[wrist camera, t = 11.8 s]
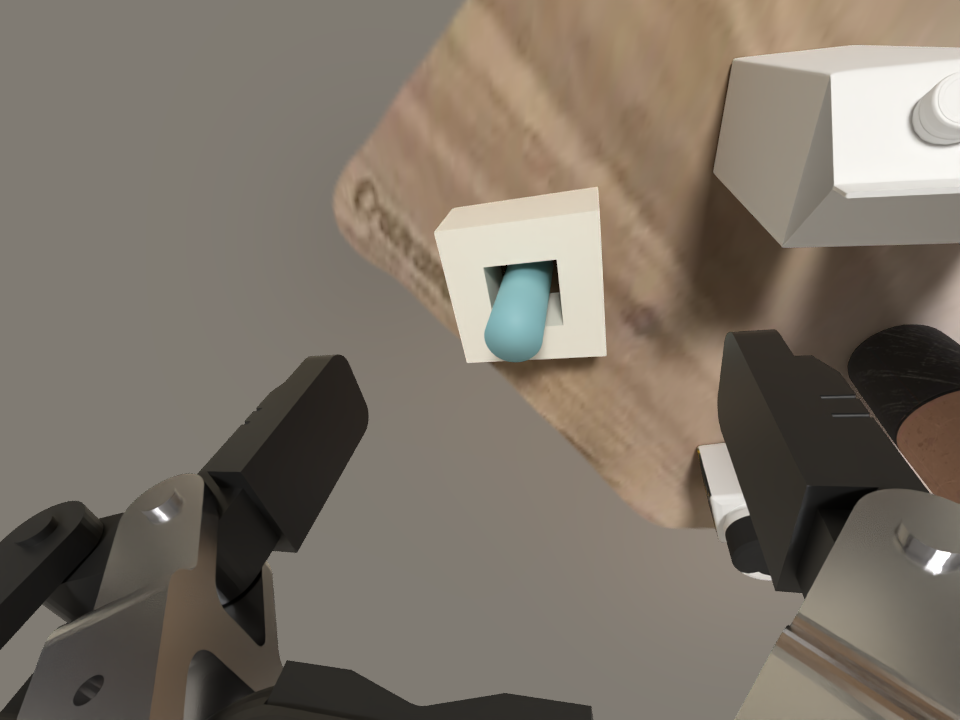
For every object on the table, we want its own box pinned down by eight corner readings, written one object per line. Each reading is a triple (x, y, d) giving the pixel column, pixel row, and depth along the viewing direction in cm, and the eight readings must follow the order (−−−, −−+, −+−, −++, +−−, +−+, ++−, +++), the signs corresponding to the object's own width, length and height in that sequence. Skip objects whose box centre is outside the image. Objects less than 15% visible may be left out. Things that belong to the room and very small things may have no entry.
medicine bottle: (695, 444, 48) (722, 545, 39) (772, 434, 46) (821, 539, 36) (704, 488, 52) (731, 590, 42) (776, 481, 49) (822, 589, 40)
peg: (550, 242, 39) (538, 309, 29) (555, 285, 41) (545, 360, 31) (505, 248, 40) (479, 314, 30) (512, 289, 42) (489, 363, 32)
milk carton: (821, 166, 32) (1034, 283, 17) (711, 173, 33) (815, 285, 18) (858, 44, 28) (1182, 51, 13) (731, 58, 29) (886, 79, 14)
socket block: (597, 186, 35) (599, 210, 31) (604, 319, 42) (606, 355, 37) (453, 208, 39) (434, 232, 34) (479, 328, 45) (467, 362, 40)
